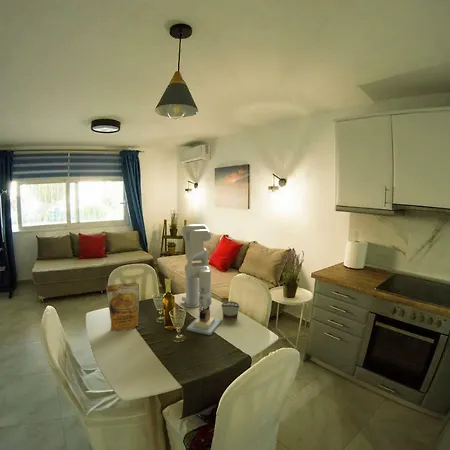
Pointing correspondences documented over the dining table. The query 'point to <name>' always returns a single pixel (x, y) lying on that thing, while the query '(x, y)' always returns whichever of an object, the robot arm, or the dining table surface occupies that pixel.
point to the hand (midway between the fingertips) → (204, 316)
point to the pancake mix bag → (123, 305)
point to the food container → (230, 310)
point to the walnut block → (207, 315)
